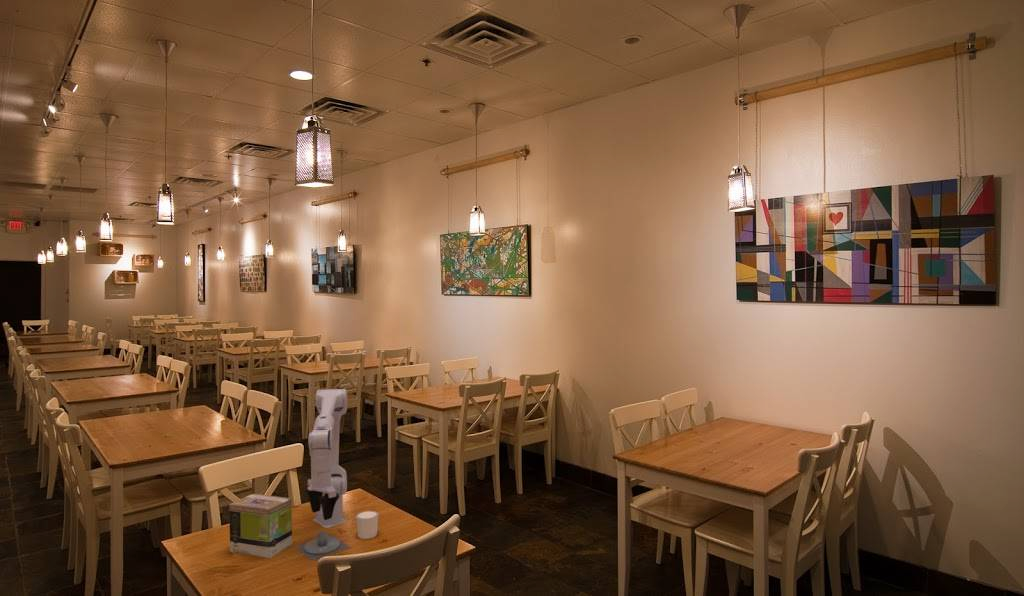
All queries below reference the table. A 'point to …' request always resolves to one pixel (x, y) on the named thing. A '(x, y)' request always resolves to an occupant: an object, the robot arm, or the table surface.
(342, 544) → the mat
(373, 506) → the table surface
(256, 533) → the tea box
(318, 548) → the lid
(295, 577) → the table surface
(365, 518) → the white cylinder
